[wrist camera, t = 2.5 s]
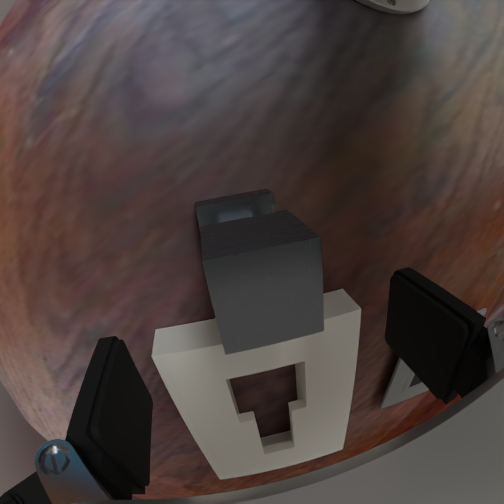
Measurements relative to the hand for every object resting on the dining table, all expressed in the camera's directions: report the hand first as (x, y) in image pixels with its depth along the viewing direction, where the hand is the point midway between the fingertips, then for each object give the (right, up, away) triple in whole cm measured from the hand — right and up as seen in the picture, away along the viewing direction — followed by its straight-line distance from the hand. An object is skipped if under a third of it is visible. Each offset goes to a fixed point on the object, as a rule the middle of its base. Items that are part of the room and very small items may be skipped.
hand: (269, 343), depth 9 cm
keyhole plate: (+1, -10, +15) cm, 18 cm away
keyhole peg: (-1, +4, +9) cm, 10 cm away
